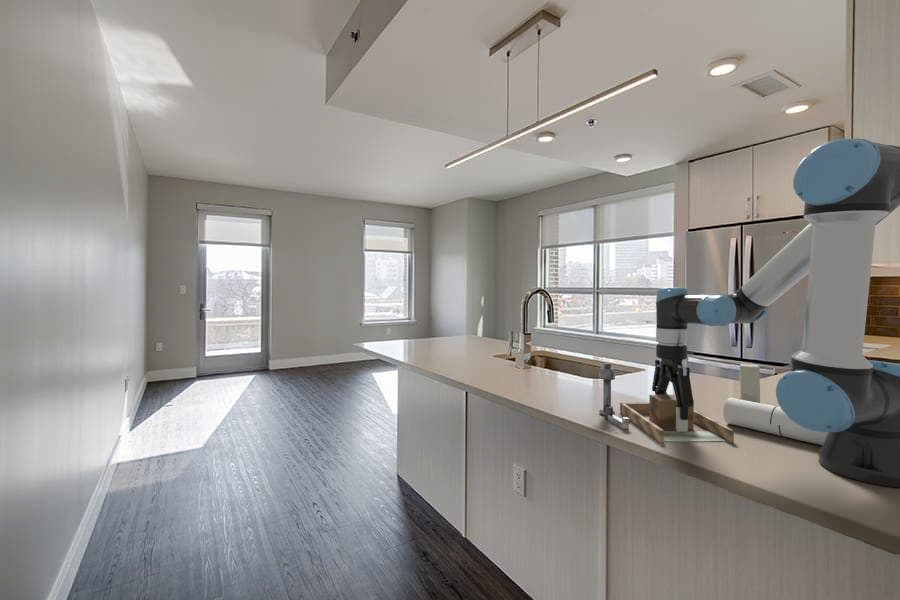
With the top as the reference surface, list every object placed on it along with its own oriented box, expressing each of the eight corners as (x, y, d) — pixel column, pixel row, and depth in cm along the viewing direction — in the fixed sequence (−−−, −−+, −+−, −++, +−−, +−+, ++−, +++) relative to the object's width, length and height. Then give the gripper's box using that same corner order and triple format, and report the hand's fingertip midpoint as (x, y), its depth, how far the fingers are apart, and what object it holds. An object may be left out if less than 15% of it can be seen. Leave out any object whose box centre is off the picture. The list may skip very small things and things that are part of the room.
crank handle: (631, 429, 114) (631, 416, 113) (624, 430, 113) (624, 416, 113) (610, 418, 124) (610, 405, 124) (604, 418, 123) (604, 406, 123)
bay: (733, 442, 104) (733, 430, 104) (659, 442, 104) (660, 430, 104) (679, 412, 129) (679, 402, 129) (620, 412, 129) (620, 402, 129)
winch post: (617, 416, 125) (617, 364, 125) (602, 416, 125) (602, 364, 125) (611, 411, 130) (611, 361, 129) (597, 412, 130) (597, 362, 129)
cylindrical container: (725, 427, 117) (846, 457, 96) (722, 404, 115) (844, 428, 95) (736, 416, 121) (855, 442, 100) (733, 393, 119) (853, 415, 99)
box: (759, 404, 136) (759, 364, 136) (760, 408, 132) (760, 367, 132) (739, 402, 139) (739, 363, 139) (739, 405, 135) (740, 365, 135)
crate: (693, 429, 113) (693, 400, 113) (659, 429, 113) (659, 400, 113) (681, 422, 119) (681, 394, 119) (649, 422, 119) (649, 394, 119)
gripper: (710, 349, 104) (710, 439, 105) (664, 338, 127) (664, 412, 127) (679, 349, 104) (679, 439, 105) (639, 339, 127) (639, 412, 128)
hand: (671, 424), depth 116 cm, fingers open, 10 cm apart
